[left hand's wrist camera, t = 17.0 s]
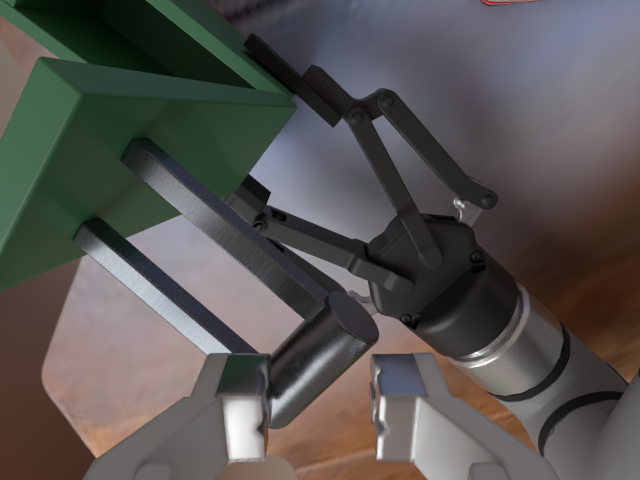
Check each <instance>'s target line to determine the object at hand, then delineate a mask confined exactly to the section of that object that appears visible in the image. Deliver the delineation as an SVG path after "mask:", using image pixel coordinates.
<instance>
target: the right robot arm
mask: <svg viewBox="0 0 640 480" xmlns="http://www.w3.org/2000/svg"><path fill="white" fill-rule="evenodd" d="M243 46H245V47H246V48H247V49H248V50H249V51H250V52H251V53H252V54H253V55H254V56H255V57H257V58H258V59H259V60H260V61H261V62H262V63H263V64H264V65H265V66H266V67H267V68H268V69H270V70H271V71H272V72H273V73H274V74H275V75H276V76H277V77H278V78H279V79H280V80H282V81H283V82H284V83H285V84H286V85H287V86H288V87H289V88H290V89H291V90H292V91H294V92H295V93H296V94H297V95H298V96H299V97H300V98H301V99H302V100H303V101H304V102H305V103H307V104H308V105H309V106H310V107H311V108H312V109H313V110H314V111H315V112H316V113H317V114H319V115H320V116H321V117H322V118H323V119H324V120H325V121H326V122H327V123H328V124H329V125H331V126H332V127H333V128H334V126H335V125H336V124H337V123H338V122H339V121H340V120H341V118H343V119H344V120H345V121H346V122H347V123H348V125H349V126H350V128H351V130H352V132H353V134H354V135H355V137H356V139H357V141H358V143H359V145H360V146H361V148H362V150H363V152H364V154H365V156H366V157H367V159H368V161H369V163H370V165H371V166H372V168H373V170H374V172H375V174H376V176H377V177H378V179H379V181H380V183H381V185H382V187H383V188H384V190H385V192H386V194H387V196H388V197H389V199H390V201H391V203H392V205H393V207H394V208H395V210H396V212H397V214H398V215H397V216H396V217H395V218H394V219H393V220H392V221H391V222H390V223H389V225H388V226H387V228H386V230H385V231H384V233H382V234H380V235H379V236H377V237H375V238H374V239H373V240H372V241H371V242H370V243H369V244H368V243H366V242H363V241H361V240H358V239H350V238H347V237H345V236H342V235H340V234H338V233H335V232H333V231H330V230H328V229H325V228H323V227H321V226H318V225H316V224H313V223H311V222H308V221H306V220H303V219H301V218H299V217H296V216H294V215H291V214H289V213H286V212H284V211H282V210H279V209H277V208H274V207H272V206H269V205H266V204H267V201H268V199H269V196H270V194H271V192H270V191H269V190H267V189H266V188H265V187H264V186H263V185H261V184H260V183H259V182H258V181H257V180H255V179H254V178H253V177H252V176H251V175H249V174H248V175H247V176H246V178H245V179H244V180H243V182H242V183H241V184H240V186H239V187H238V188H237V190H236V191H235V192H233V193H230V194H228V195H226V196H223V197H221V198H219V199H221V200H222V201H223V202H224V203H225V204H226V205H227V206H229V207H230V208H231V209H232V210H233V211H234V212H236V213H237V214H238V215H240V216H241V217H242V218H243V219H245V220H246V221H247V223H248V224H249V225H251V226H252V227H253V228H254V229H255V230H256V231H258V232H259V233H260V234H261V235H262V236H263V237H265V238H266V239H267V240H268V241H269V242H270V243H272V244H273V245H274V246H275V247H276V248H277V249H278V250H280V251H281V252H282V253H283V254H284V255H285V256H287V257H288V258H289V259H290V260H291V261H292V262H294V263H295V264H296V265H297V266H298V267H299V268H300V269H302V270H303V271H304V272H305V273H306V274H307V275H309V276H310V277H311V278H312V279H313V280H314V281H316V282H317V283H318V284H319V285H320V286H321V287H322V288H324V289H325V290H326V291H327V292H328V293H329V294H330V293H332V292H334V291H339V292H343V293H345V294H347V295H349V296H351V297H352V298H354V299H355V300H356V301H358V302H359V303H360V304H361V305H362V306H363V307H364V308H365V309H366V310H367V311H368V313H369V314H370V315H371V316H372V315H374V314H376V313H380V314H382V315H385V316H390V317H393V318H396V319H398V320H399V321H401V322H402V323H403V324H404V325H405V326H406V327H407V328H408V329H410V330H411V331H412V332H413V333H415V334H416V335H417V336H418V337H420V338H421V339H422V340H423V341H425V342H426V343H427V344H428V345H429V346H431V347H432V348H433V349H434V350H436V351H437V352H438V353H440V354H441V355H444V356H445V358H446V359H447V360H448V361H449V362H450V363H451V364H453V365H454V366H455V367H456V368H458V369H459V370H460V371H462V372H463V373H464V374H465V375H467V376H468V377H469V378H471V379H472V380H473V381H474V382H476V383H477V384H478V385H480V386H481V387H482V388H483V389H484V390H485V391H487V392H488V393H489V394H490V395H492V396H493V397H494V398H496V399H497V400H498V401H499V402H500V403H501V404H503V405H504V406H505V407H506V408H507V409H509V410H510V411H511V412H512V413H513V414H514V415H515V416H516V417H517V418H518V419H519V420H520V421H521V423H522V424H523V426H524V427H525V429H526V431H527V433H528V434H529V436H530V438H531V440H532V442H533V443H534V445H535V447H536V449H537V451H538V452H539V454H540V455H541V456H542V457H544V458H545V459H547V460H548V461H549V462H550V464H551V465H552V467H553V469H554V470H555V472H556V474H557V475H558V477H559V479H560V480H640V368H639V370H638V371H637V373H636V374H635V376H634V378H633V379H632V381H631V382H630V384H629V383H628V382H626V381H625V380H624V379H623V378H622V377H621V376H620V373H619V372H618V371H617V370H615V369H614V368H613V367H612V366H611V365H609V364H608V363H607V362H604V361H603V360H602V359H601V358H600V357H599V356H597V355H596V354H595V353H594V352H593V351H592V350H591V349H590V348H589V347H587V346H586V345H585V344H584V343H583V342H582V341H581V340H579V339H578V338H577V337H576V336H575V335H574V334H573V333H572V332H570V331H569V330H568V329H567V328H566V327H565V326H564V325H563V324H562V323H561V322H560V321H559V320H558V318H557V317H555V316H554V315H553V314H552V313H551V312H550V311H549V310H548V309H547V308H546V307H545V306H544V305H543V304H542V303H541V302H540V301H538V300H537V299H536V298H535V297H534V296H533V295H532V294H531V293H530V292H529V291H528V290H527V289H526V288H525V287H524V286H522V285H521V284H520V283H518V282H516V281H515V279H514V278H513V276H512V275H511V274H510V273H508V272H507V271H506V270H505V269H504V268H503V267H502V266H501V265H500V264H499V263H498V262H497V261H496V260H495V259H493V258H492V257H491V256H490V255H489V254H488V253H487V252H486V251H485V250H484V249H483V248H482V247H481V246H480V245H478V244H477V242H476V239H475V235H474V232H473V230H472V228H471V227H472V226H473V224H474V223H475V221H476V220H477V218H478V217H479V215H480V214H481V212H482V211H483V209H485V210H488V209H491V208H493V207H494V206H495V205H496V204H497V201H498V197H497V194H496V193H494V192H493V191H492V190H490V189H489V188H488V187H486V186H485V185H484V184H482V183H481V182H479V181H477V180H475V179H473V178H471V177H470V176H468V175H466V174H465V173H464V172H463V171H462V170H461V169H460V167H459V166H458V165H457V164H456V163H455V162H454V160H453V159H452V158H451V157H450V156H449V155H448V153H447V152H446V151H445V150H444V149H443V148H442V146H441V145H440V144H439V143H438V142H437V141H436V139H435V138H434V137H433V136H432V135H431V134H430V132H429V131H428V130H427V129H426V128H425V127H424V125H423V124H422V123H421V122H420V121H419V120H418V119H417V117H416V116H415V115H414V114H413V113H412V112H411V110H410V109H409V108H408V107H407V106H406V105H405V103H404V102H403V101H402V100H401V99H400V98H399V96H398V95H397V94H396V93H395V92H393V91H391V90H389V89H385V88H380V89H378V90H376V91H375V92H374V93H372V94H370V95H369V96H367V97H365V98H363V99H355V98H353V97H351V96H350V95H349V94H348V93H347V92H346V91H345V90H344V89H343V88H342V87H341V86H339V85H338V84H337V83H336V82H335V81H334V80H333V79H332V78H331V77H330V76H329V75H328V74H327V73H326V72H325V71H324V70H323V69H322V68H320V67H317V66H315V65H311V66H310V67H309V69H308V70H307V71H306V72H305V74H304V75H303V76H302V77H301V76H300V75H299V74H298V73H297V72H296V71H295V70H294V69H293V68H292V67H291V66H290V65H289V64H287V63H286V62H285V61H284V60H283V59H282V58H281V57H280V56H279V55H278V54H277V53H276V52H275V51H274V50H273V49H271V48H270V47H269V46H268V45H267V44H266V43H265V42H264V41H263V40H262V39H261V38H260V37H258V36H256V35H254V34H252V33H251V35H250V36H249V37H248V39H247V40H246V41H245V43H244V44H243ZM381 115H384V116H385V117H386V119H387V120H388V121H389V122H390V123H391V124H392V125H393V126H394V128H395V129H396V130H397V131H398V132H399V133H400V134H401V136H402V137H403V138H404V139H405V140H406V141H407V142H408V143H409V145H410V146H411V147H412V148H413V149H414V150H415V151H416V152H417V154H418V155H419V156H420V157H421V158H422V159H423V160H424V162H425V163H426V164H427V165H428V166H429V167H430V168H431V169H432V171H433V172H434V173H435V174H436V175H437V176H438V177H439V178H440V179H441V180H442V181H443V182H444V183H445V184H446V185H447V186H448V187H449V188H450V189H451V190H452V192H451V194H450V202H451V203H452V204H453V205H454V206H455V208H456V215H455V217H454V216H444V215H433V214H423V213H420V212H419V210H418V209H417V207H416V205H415V203H414V202H413V200H412V198H411V196H410V194H409V192H408V190H407V188H406V186H405V184H404V183H403V181H402V179H401V177H400V175H399V173H398V171H397V169H396V167H395V166H394V164H393V162H392V160H391V158H390V156H389V154H388V152H387V150H386V148H385V147H384V145H383V143H382V141H381V139H380V137H379V135H378V133H377V131H376V130H375V128H374V126H373V124H372V122H371V121H372V120H374V119H376V118H378V117H380V116H381ZM279 242H280V243H279ZM281 243H283V244H285V245H288V246H291V247H293V248H296V249H298V250H301V251H303V252H306V253H308V254H311V255H313V256H316V257H318V258H321V259H323V260H326V261H328V262H331V263H333V264H336V265H338V266H341V267H343V268H345V269H347V270H348V271H349V272H350V273H352V274H353V275H355V276H358V277H360V278H363V279H365V280H368V284H369V289H370V294H371V295H370V296H368V297H363V296H360V295H359V294H358V293H356V292H354V291H352V290H350V291H349V292H348V293H347V292H346V290H345V289H344V288H343V287H342V286H341V285H340V284H339V283H337V282H336V281H335V280H333V279H332V278H330V277H329V276H327V275H326V274H324V273H323V272H322V271H320V270H319V269H317V268H316V267H314V266H313V265H311V264H310V263H308V262H307V261H306V260H304V259H303V258H301V257H300V256H298V255H297V254H295V253H294V252H292V251H291V250H290V249H288V248H287V247H285V246H284V245H282V244H281Z"/></svg>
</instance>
